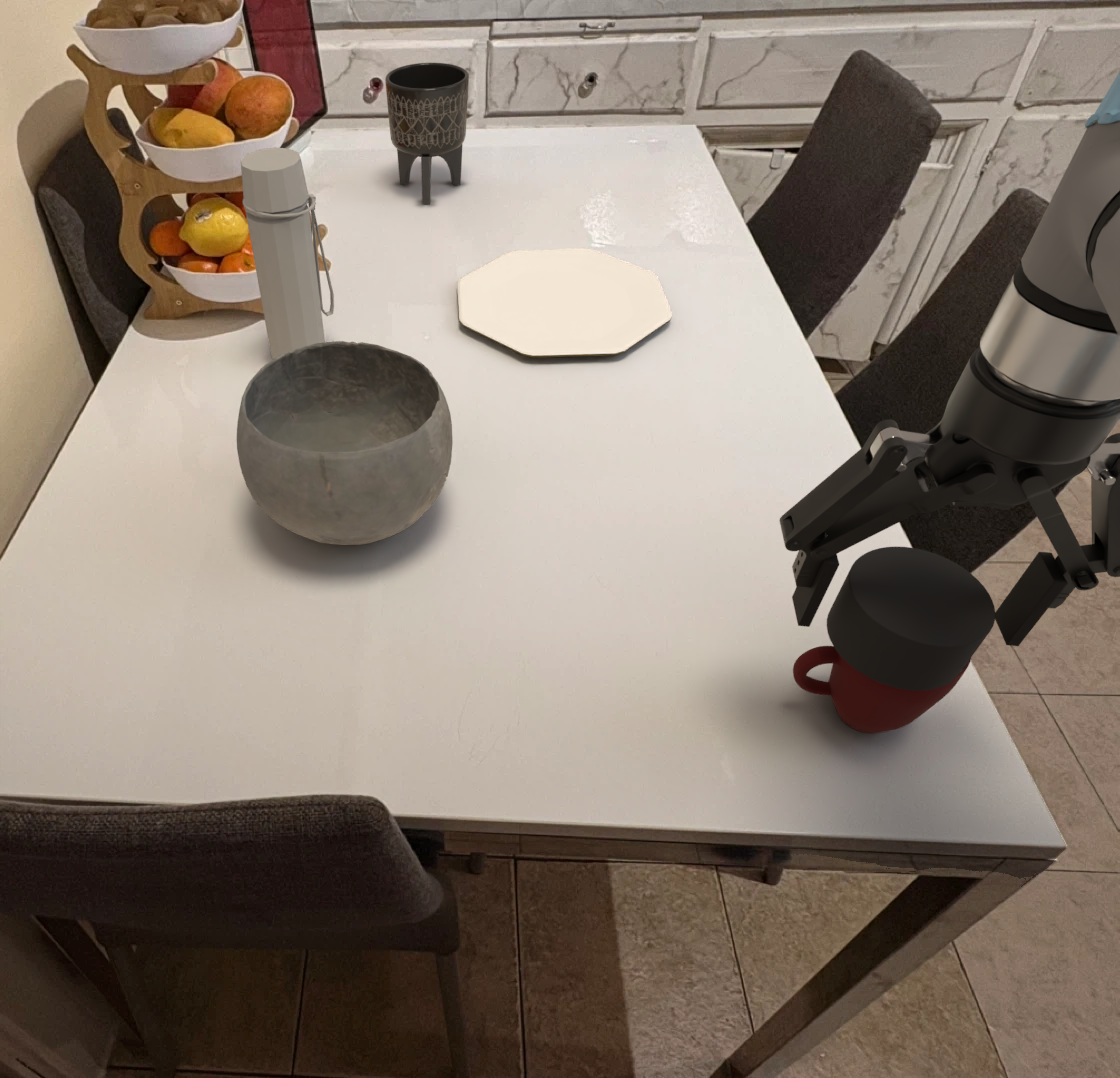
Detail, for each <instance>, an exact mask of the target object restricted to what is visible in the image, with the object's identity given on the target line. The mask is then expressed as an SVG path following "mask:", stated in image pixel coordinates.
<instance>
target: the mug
mask: <svg viewBox="0 0 1120 1078" xmlns="http://www.w3.org/2000/svg"><path fill="white" fill-rule="evenodd" d="M971 661H972V657H971V658H970V660H969V661H968V662H967V664H966V665H965V667H964V668H963V669H962V671H961V672H960V673H959V675H958V676H957V677H956V678H955V679H954V680H953V681H951V682H950V683H948V684H946V685H944V686H942V687H939V688H936V689H931V690H921V691H916V690H905V689H899V688H895V687H891V686H888V685H885V684H882V683H880V682H877V681H875V680H873V679H871V678H869V677H867V676H865V675H863V674H862V673H860V672H859V671H857V670H856V669H855V668H853V667H852V666H851V665H850V664H848V663H847V662H846V661H845V660H844V659H843V658H842V657H841V655H840V654H839V653H838V652H837V650H836V649H835V647H834V646H833V645H819V646H815V647H813V648H810V649H808V650H806V651H804V652H803V653H801V655H799V656H798V657H797V658H796V660H795V662H794V663H793V666H792V676H793V679H794V681H795V683H796V684H797V686H798V687H799V688H801V689H802V690H804V691H806V692H808V693H811V694H815V695H821V696H830V698H831V700H832V703H833V706H834V708H835V711H836V713H837V715H838V716H839V718H840V719H841V720H842V721H843V722H844V723H845V724H846V725H847V726H848V727H850V728H852V729H854V730H856V731H858V732H861V733H865V734H879V733H885V732H891V731H896V730H898V729H901V728H904V727H906V726H908V725H910V724H912V723H913V722H915V721H916V720H917V719H918V718H920V717H921V716H923V714H925V713H926V712H927V711H928V710H930V709H931V708H933V707H934V706H935V705H936V704H938V703H939V702H940V701H941V700H942V699H944V698H945V697H946V696H947V695H948V694H950V692H951V691H952V690H953V689H954V688H955V686H956V685H957V684H958V682H959V681H960V680H961V678H962V677H963V675H964V674H965V672H966V671H967V669H968V667H969V666H970V663H971ZM826 664H831V665H832V667H831V670H830V674H829V678H828V681H825V680H820V679H816V678H813V677H810V676H808V673H809V672H810V671H811V670H813V669H814V668H816V667H818V666H821V665H826Z"/></svg>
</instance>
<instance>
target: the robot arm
mask: <svg viewBox="0 0 1120 1078" xmlns="http://www.w3.org/2000/svg"><path fill="white" fill-rule="evenodd" d="M1084 126H1085V127H1084V128H1086V129H1085V131H1084V134H1083V135H1082V137H1081V139H1080V141H1079V143H1078V145H1077V148H1076V149H1075V152H1074V153H1073V155H1072V157H1071V160H1070V161H1069V163H1068V165H1067V167H1066V169H1065V170H1064V171H1065V172H1064V173H1063V175H1062V177H1061V179H1060V182H1059V183H1058V185H1057V187H1056V189H1055V191H1054V193H1053V195H1052V197H1051V199H1050V201H1049V203H1048V205H1047V207H1046V209H1045V211H1044V213H1043V215H1042V217H1041V219H1040V221H1039V223H1038V225H1037V226H1036V229H1035V231H1034V233H1033V235H1032V237H1031V239H1030V241H1029V243H1028V245H1027V247H1026V249H1025V251H1024V252H1023V255H1022V257H1021V259H1020V261H1019V263H1018V265H1017V267H1016V269H1015V271H1014V274H1013V275H1012V277H1011V278H1010V280H1009V282H1008V285H1007V287H1006V288H1005V290H1004V292H1003V294H1002V296H1001V298H1000V300H999V302H998V304H997V305H996V308H995V309H994V312H993V313H992V316H991V317H990V318H989V321H988V323H987V325H986V327H985V329H984V331H983V332H982V334H981V336H980V339H979V340H980V341H979V346H978V347H977V348H976V349H974V351H973V352H972V353H971V355H970V357H969V358H968V361H967V362H966V365H965V367H964V369H963V371H962V373H961V374H960V376H959V379H958V381H957V382H956V384H955V386H954V388H953V390H952V392H951V393H950V396H949V398H948V400H947V403H946V407H945V410H944V413H943V415H942V418H941V420H940V421H939V422H938V423H937V424H936V425H935V426H933V428H931V429H930V430H929V431H928V432H926V433H919V432H914V431H907V430H900V427H899V425H898V423H897V421H895V420H894V419H884V420H881V421H879V422H877V424H876V425H875V426H874V428H873V429H872V431H871V433H870V435H869V436H868V438H867V440H866V441H865V443H864V444H863V445H862V447H861V448H860V449H859V450H858V451H857V452H855V453H854V454H853V455H852V456H850V457H849V458H848V459H847V460H846V461H844V462H843V463H842V464H841V465H840V466H839V467H837V468H836V469H835V470H834V471H833V472H832V473H830V474H829V475H828V476H827V477H825V478H824V480H823V481H821V482H820V483H818V485H817V486H815V487H814V488H813V489H812V490H810V492H807V494H806V495H804V497H802V498H801V499H800V500H798V502H796V503H795V504H794V505H793V506H792V507H790V508H789V509H788V510H787V511H785V512H784V514H782V515H781V516H780V518H779V525H780V530H781V534H782V538H783V543H784V547H785V549H786V550H787V551H790V552H797V554H796V557H795V559H794V561H793V563H792V566H791V568H792V572H793V578H794V582H795V586H796V587H795V590H794V592H793V593H792V596H791V598H792V599H791V600H792V604H793V608H794V613H795V619H796V622H797V627H808V628H809V627H810V626H811V624H812V622H813V620H814V618H815V616H816V614H817V612H818V610H819V608H820V605H821V604H822V602H823V599H824V598H825V595H826V593H827V591H828V589H829V587H830V585H831V583H832V580H833V579H834V577H835V574H836V573H837V571H838V568H839V566H840V562H839V558H838V554H839V553H842V552H843V551H845V550H847V549H849V548H851V547H853V546H855V545H858V544H859V543H861V542H863V541H865V540H867V539H869V538H871V537H873V536H875V535H877V534H879V533H880V532H883V531H884V530H887V529H889V528H891V527H893V526H895V525H897V524H898V523H900V522H903V521H904V520H906V519H908V518H910V517H913V516H914V515H917V514H918V513H923V514H931V513H934V512H936V511H938V510H940V509H942V508H944V507H946V506H948V505H950V504H952V505H953V506H954V507H962V508H963V507H965V508H969V507H980V506H983V507H984V506H985V507H988V508H991V509H995V510H1006V511H1010V510H1011V508H1012V507H1015V506H1019V505H1022V504H1026V503H1029V505H1030V506H1031V508H1032V510H1033V512H1034V514H1035V515H1036V518H1037V520H1038V521H1039V523H1040V525H1041V527H1042V528H1043V530H1044V533H1045V534H1046V536H1047V538H1048V540H1049V542H1050V543H1051V545H1052V547H1053V549H1054V551H1055V552H1056V553H1057V556H1056V557H1055V556H1054V554H1053V553H1052V552H1047V551H1038V552H1037V554H1036V555H1035V557H1034V558H1032V559H1033V560H1032V561H1031V562H1030V564H1029V565H1028V566H1027V568H1026V569H1025V571H1024V572H1023V573H1022V575H1021V576H1020V577H1019V579H1018V580H1017V582H1016V583H1015V584H1014V586H1013V587H1012V589H1011V590H1010V592H1009V593H1008V594H1007V596H1006V597H1005V598H1004V599H1003V601H1002V602H1001V604H1000V605H999V607H998V608H997V610H995V622H996V624H997V627H998V629H999V631H1000V634H1001V636H1002V638H1003V641H1004V644H1005V645H1006V646H1011V647H1019V646H1020V645H1021V643H1023V641H1024V640H1025V639H1026V637H1027V636H1028V635H1029V633H1031V631H1032V630H1033V628H1035V627H1034V626H1036V625H1037V623H1038V622H1039V621H1040V619H1042V617H1043V616H1044V614H1045V613H1046V612H1047V610H1048V609H1057V608H1058V607H1060V606H1061V605H1063V604H1064V602H1065V601H1066V600H1067V598H1069V597H1070V594H1071V593H1073V592H1074V590H1075V589H1076V590H1078V591H1089V590H1092V589H1096V587H1097V586H1098V585H1099V584H1100V581H1099V579H1098V577H1097V575H1096V574H1101V573H1107V575H1108V576H1109V577H1111V578H1119V577H1120V432H1117V433H1114V434H1111V432H1112V431H1113V429H1114V427H1116V425H1117V424H1118V421H1119V420H1120V71H1119V72H1118V73H1117V75H1116V77H1115V78H1114V80H1113V81H1112V83H1111V85H1110V86H1109V88H1108V90H1107V92H1106V93H1105V95H1104V97H1103V99H1102V100H1101V102H1100V103H1099V105H1098V107H1097V109H1096V110H1095V112H1094V113H1093V114H1091V115H1090V116H1089V117H1088V118H1087V120H1086V122H1085V124H1084ZM1110 434H1111V435H1110ZM913 459H914V460H913ZM1085 470H1087V471H1088V473H1089V474H1090V483H1091V484H1090V500H1091V501H1090V503H1091V505H1090V506H1091V508H1090V509H1091V510H1090V511H1091V543H1089V544H1082V545H1081V544H1080V543H1079V541H1078V539H1077V537H1076V535H1075V533H1074V531H1073V530H1072V527H1071V526H1070V523H1069V521H1068V520H1067V518H1066V516H1065V514H1064V511H1063V510H1062V507H1061V505H1060V504H1059V502H1058V500H1057V498H1056V496H1055V494H1054V492H1053V490H1052V489H1054V488H1056V487H1058V486H1060V485H1061V484H1063V483H1065V482H1067V481H1070V480H1071V479H1073V478H1074V477H1076V476H1078V475H1080V474H1082V473H1083V472H1084V471H1085ZM896 472H899V474H898V475H896V476H894V477H893V475H894V474H895V473H896ZM929 476H932V479H933V480H934V484H935V485H936V486H935V487H933V488H932V489H930V490H929V487H928V486H927V483H926V479H927V478H928V477H929ZM892 477H893V478H892Z"/></svg>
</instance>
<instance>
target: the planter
mask: <svg viewBox="0 0 1120 1078" xmlns="http://www.w3.org/2000/svg"><path fill="white" fill-rule="evenodd" d="M469 74H470V73H469V72H468V70H466V69H465V68H464V67H461V66H459V65H455V64H452V63H445V62H418V63H412V64H406V65H402V66H399V67H396V68H394V69H392V70H391V71H389V72H388V73H387V74H386V75H385V79H384V80H385V81H384V82H385V91H386V93H385V94H386V103H387V114H388V124H389V136H390V141H391V144H392V145H393V147H394V148H395V149H396V152H397V165H398V178H399V185H400V186H404V187H405V186H407V185H409V184H410V179H411V170H412V168H413V167H412V166H413V164H414V162H415V161H416V159H417V158H420V168H421V169H420V170H421V171H420V172H421V197H422V198H421V203H422V205H431V204H432V203H431V202H432V193H431V192H432V161H433V158H435V157H439V158H441V159H443V160H444V161H445V163H446V164H447V168H448V170H449V175H450V182H451V183H450V184H452V185H453V186H454V187H455V186H460V185H461V182H462V163H463V144H464V143H465V139H466V137H467V136H466V135H467V119H468V103H469V102H468V101H469V84H470V83H469V81H470V75H469Z"/></svg>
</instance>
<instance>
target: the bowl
mask: <svg viewBox="0 0 1120 1078" xmlns="http://www.w3.org/2000/svg"><path fill="white" fill-rule="evenodd" d="M448 404H449V403H448V401H447V398H446V396H445V392H444V391H443V389H442V387H441V385H440V384H439V382H438V381H437V379H436V378H435V376H434V375H433V373H432V371H431V370H430V369H429V368H428V367H427V366H425V365H424V364H423V363H422V362H421V361H419V360H418V359H416V358H415V357H413V356H410V355H408V354H405V353H403V352H401V351H400V352H399V351H397V350H394V349H391V348H388V347H385V346H382V345H379V344H375V343H368V342H355V341H344V340H340V341H339V340H338V341H325V342H323V343H316V344H312V345H308V346H304V347H301V348H298V349H295V350H293V351H290V352H287V353H285V354H283V355H280V356H278V357H276V358H275V359H273V360H272V359H271V360H270V361H268V362H267V363H265V364H264V365H263V366H261V367H260V369H259V370H258V371H257V372H256V374H255V375H254V376H253V377H251V379H250V381H249V382H247V385H246V387H245V389H244V391H243V394H242V395H241V401H240V405H239V410H238V416H237V426H236V451H237V457H238V463H239V467H240V470H241V474H242V477H243V480H244V483H245V485H246V488H247V490H248V491H249V493H250V495H251V497H252V499H253V500H254V502H255V503H256V504H257V505H258V506H259V507H260V509H261V510H262V511H263V512H264V513H265V514H266V515H267V516H268V517H270V518H271V520H273V521H274V522H275V523H277V524H278V525H279V526H281V527H283V528H284V529H286V530H288V531H289V532H292V533H293V534H296V535H299V536H301V537H303V538H306V539H309V540H311V541H314V542H318V543H320V544H329V545H340V546H354V545H355V546H357V545H366V544H371V543H375V542H379V541H382V540H385V539H388V538H390V537H392V536H395V535H397V534H399V533H401V532H403V531H404V530H407V529H408V528H409V527H411V526H413V525H414V524H415V523H417V522H418V520H419V519H420V518H422V517H423V516H424V515H425V514H426V513H427V512H428V511H429V509H431V507H432V505H433V504H434V502H435V501H436V499H437V498H438V496H439V495H440V493H441V492H442V489H443V488H444V486H445V483H446V481H447V477H448V476H449V472H450V468H451V465H452V456H453V455H452V454H453V442H454V441H453V423H452V416H451V411H450V408H449V405H448Z"/></svg>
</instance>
